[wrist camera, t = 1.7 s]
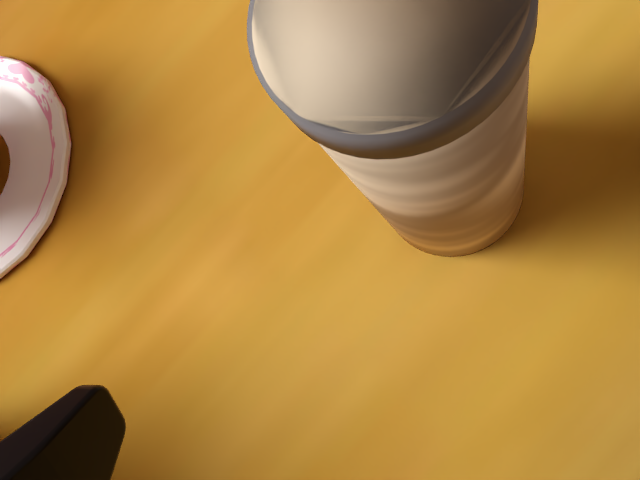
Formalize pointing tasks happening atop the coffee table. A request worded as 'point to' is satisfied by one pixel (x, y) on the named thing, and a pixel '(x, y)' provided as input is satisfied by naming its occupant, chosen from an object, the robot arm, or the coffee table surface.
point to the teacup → (30, 159)
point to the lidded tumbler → (409, 104)
